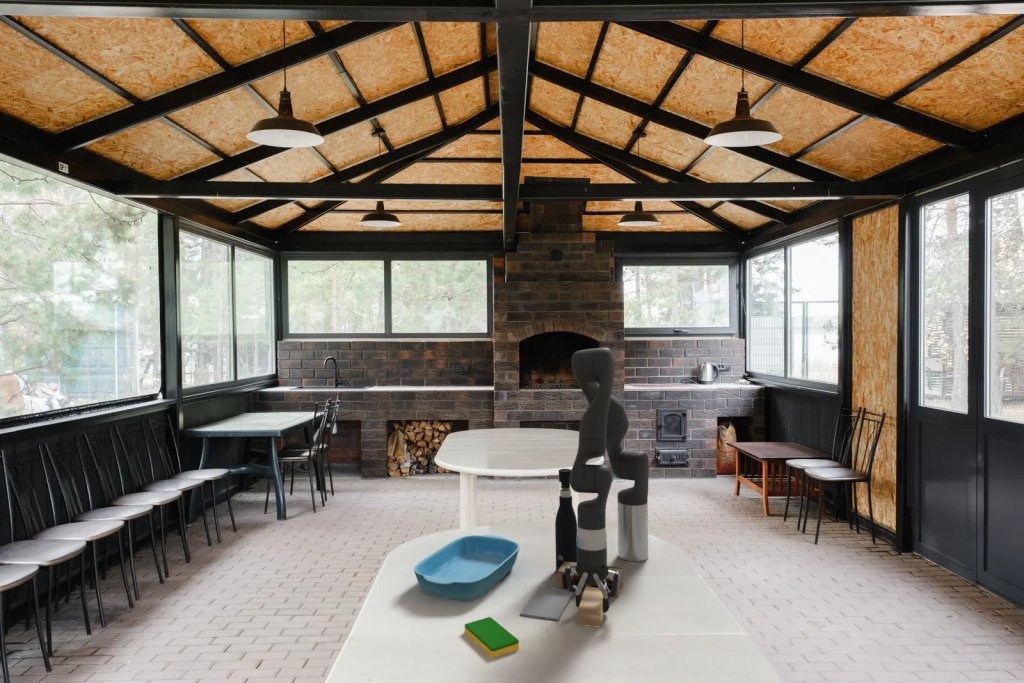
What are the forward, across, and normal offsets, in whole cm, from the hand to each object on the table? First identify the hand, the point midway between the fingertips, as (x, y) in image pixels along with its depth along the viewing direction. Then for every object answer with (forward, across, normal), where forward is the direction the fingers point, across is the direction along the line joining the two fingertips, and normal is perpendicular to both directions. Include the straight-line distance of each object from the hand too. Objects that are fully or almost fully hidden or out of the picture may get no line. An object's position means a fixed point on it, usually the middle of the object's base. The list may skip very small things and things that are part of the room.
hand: (592, 609), depth 156 cm
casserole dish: (+2, +38, -11) cm, 40 cm away
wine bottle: (+1, +13, -24) cm, 27 cm away
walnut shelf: (+1, +4, -15) cm, 15 cm away
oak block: (+1, 0, 0) cm, 1 cm away
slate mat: (+1, +12, -2) cm, 12 cm away
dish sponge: (+2, +20, +20) cm, 28 cm away
